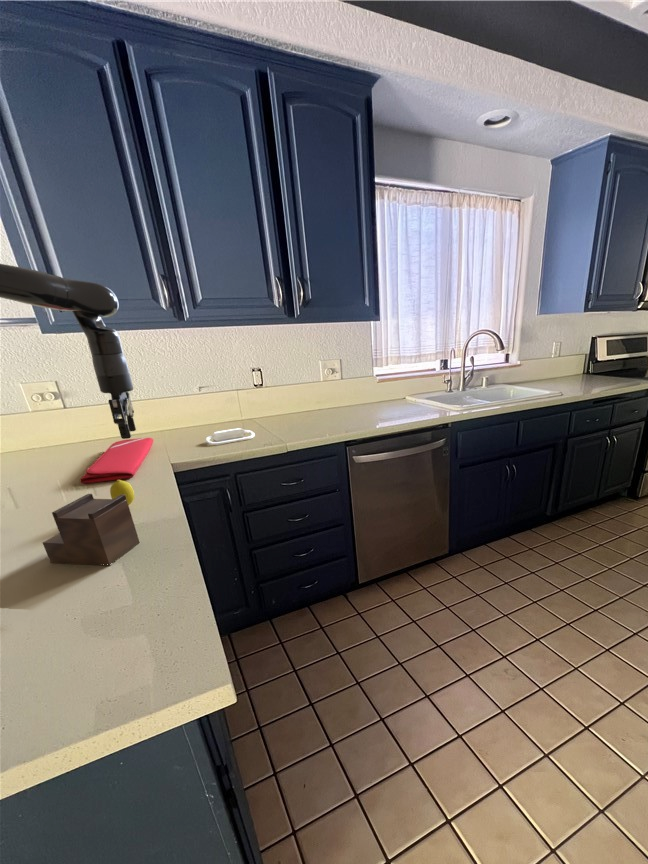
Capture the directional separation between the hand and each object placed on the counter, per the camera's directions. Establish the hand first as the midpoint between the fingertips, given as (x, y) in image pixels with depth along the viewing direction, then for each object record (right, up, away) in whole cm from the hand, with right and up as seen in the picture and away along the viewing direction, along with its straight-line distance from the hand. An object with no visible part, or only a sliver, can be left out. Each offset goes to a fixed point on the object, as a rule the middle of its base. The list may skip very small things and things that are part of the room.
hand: (129, 434), depth 116 cm
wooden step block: (+5, -30, -21) cm, 37 cm away
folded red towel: (-25, -3, +39) cm, 46 cm away
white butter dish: (+5, +9, +63) cm, 64 cm away
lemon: (-2, -20, +2) cm, 20 cm away
